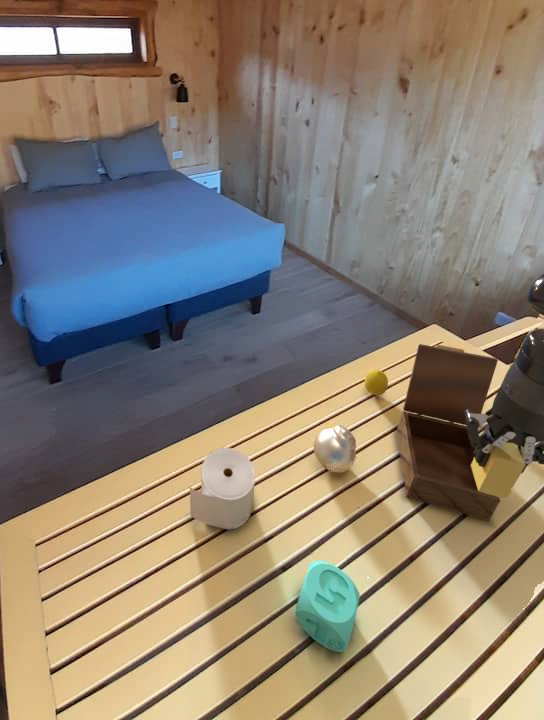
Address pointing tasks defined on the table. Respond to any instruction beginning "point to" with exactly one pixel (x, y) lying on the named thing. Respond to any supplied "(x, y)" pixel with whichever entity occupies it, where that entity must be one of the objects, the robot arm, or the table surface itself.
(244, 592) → the table surface
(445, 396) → the lid
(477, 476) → the block
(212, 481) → the toilet tissue
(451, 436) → the chest
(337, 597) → the decorative dice
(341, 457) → the silver round lump
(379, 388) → the lemon
